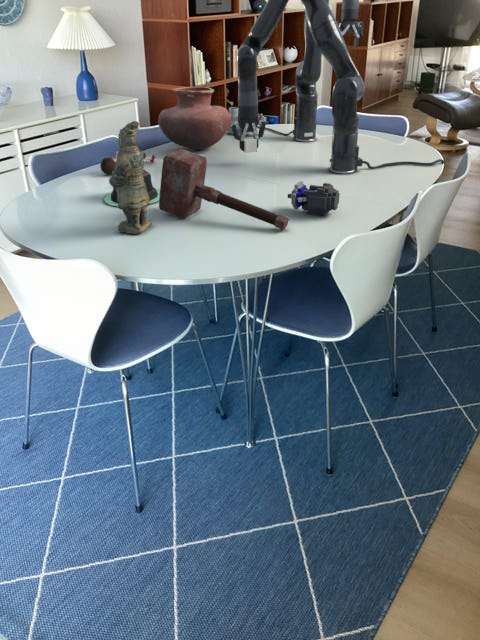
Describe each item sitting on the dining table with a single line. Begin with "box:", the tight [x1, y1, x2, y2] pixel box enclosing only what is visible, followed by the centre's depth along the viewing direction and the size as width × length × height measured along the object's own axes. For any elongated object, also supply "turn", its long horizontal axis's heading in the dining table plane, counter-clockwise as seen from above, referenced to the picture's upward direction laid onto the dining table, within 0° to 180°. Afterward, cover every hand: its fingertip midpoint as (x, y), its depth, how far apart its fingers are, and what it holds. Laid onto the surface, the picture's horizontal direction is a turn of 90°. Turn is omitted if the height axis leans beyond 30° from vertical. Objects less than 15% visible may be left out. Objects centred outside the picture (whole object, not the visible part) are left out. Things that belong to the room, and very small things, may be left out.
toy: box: [287, 180, 341, 216], centre depth 168 cm, size 9×9×15 cm
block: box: [243, 136, 258, 154], centre depth 216 cm, size 5×5×5 cm
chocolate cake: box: [103, 168, 160, 207], centre depth 186 cm, size 15×19×20 cm
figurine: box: [100, 149, 156, 176], centre depth 217 cm, size 13×8×25 cm
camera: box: [226, 106, 259, 136], centre depth 264 cm, size 9×12×15 cm
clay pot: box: [157, 86, 231, 151], centre depth 238 cm, size 30×30×25 cm
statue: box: [108, 120, 153, 235], centre depth 154 cm, size 11×9×30 cm
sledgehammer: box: [158, 148, 290, 231], centre depth 163 cm, size 17×10×40 cm
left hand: (347, 47), depth 260 cm, fingers open, 8 cm apart
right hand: (249, 149), depth 217 cm, fingers closed on block, 4 cm apart
